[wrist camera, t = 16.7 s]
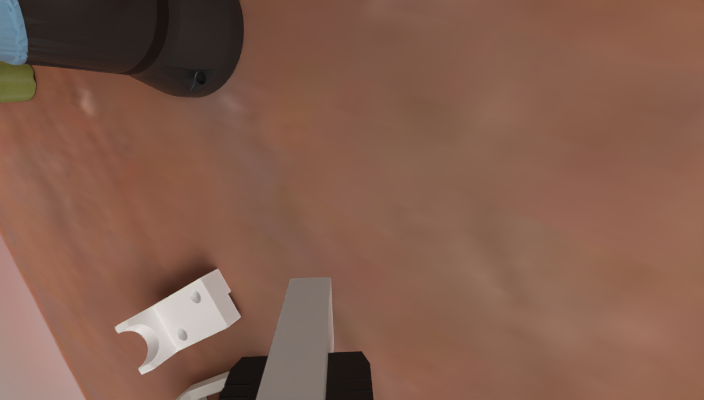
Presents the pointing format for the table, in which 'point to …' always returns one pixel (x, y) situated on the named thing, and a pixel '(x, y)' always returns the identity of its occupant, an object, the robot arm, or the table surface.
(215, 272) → the bracket
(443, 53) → the table surface
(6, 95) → the plant pot
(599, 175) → the table surface
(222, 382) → the white u channel
